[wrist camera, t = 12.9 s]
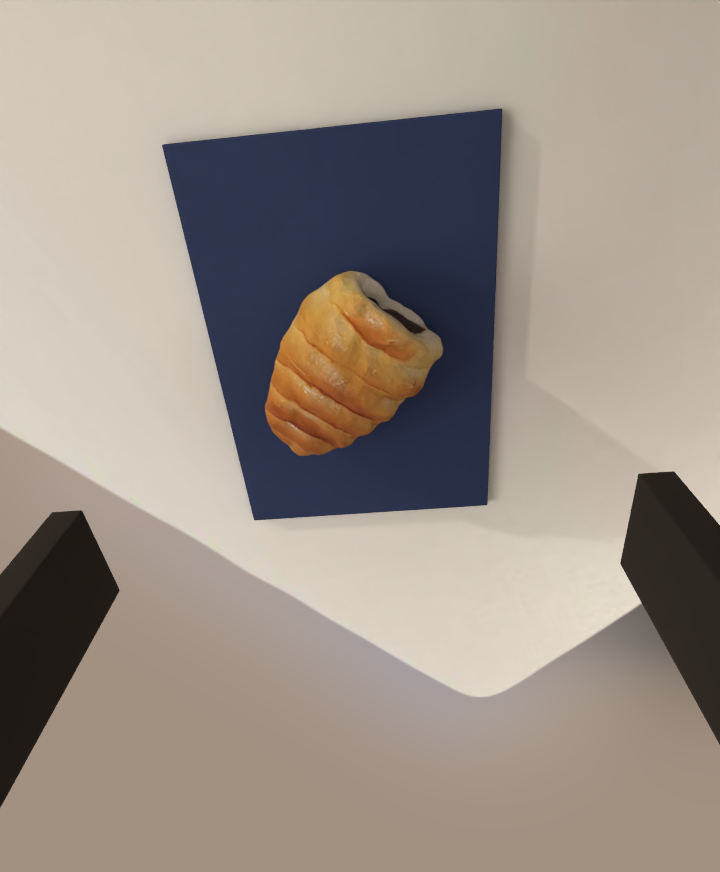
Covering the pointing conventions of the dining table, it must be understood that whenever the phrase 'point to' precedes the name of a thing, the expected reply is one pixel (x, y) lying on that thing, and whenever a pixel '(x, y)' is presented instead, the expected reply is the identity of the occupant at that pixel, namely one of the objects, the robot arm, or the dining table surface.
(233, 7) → the dining table surface
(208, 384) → the dining table surface
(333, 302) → the pastry
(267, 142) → the cloth mat
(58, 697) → the robot arm
